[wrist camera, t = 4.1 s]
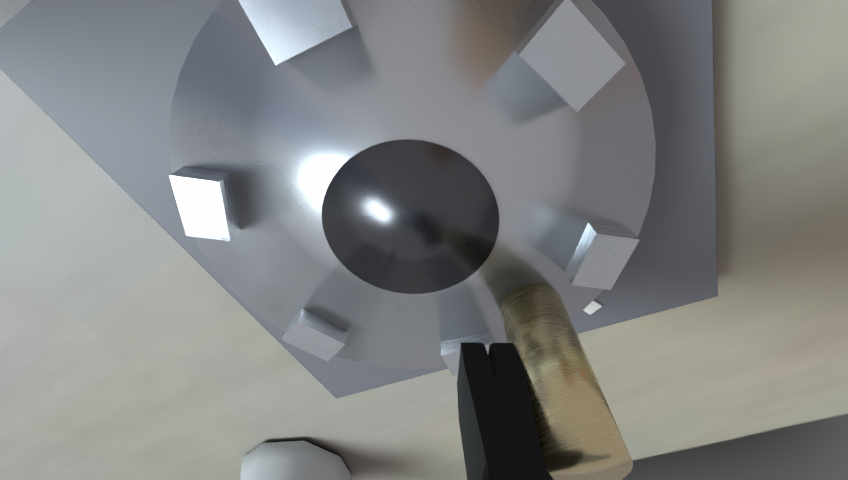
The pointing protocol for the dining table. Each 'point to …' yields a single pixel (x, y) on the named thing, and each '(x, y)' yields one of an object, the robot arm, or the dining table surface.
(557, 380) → the crank wheel with handle
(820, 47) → the dining table surface
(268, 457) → the flask
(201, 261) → the cap plate
